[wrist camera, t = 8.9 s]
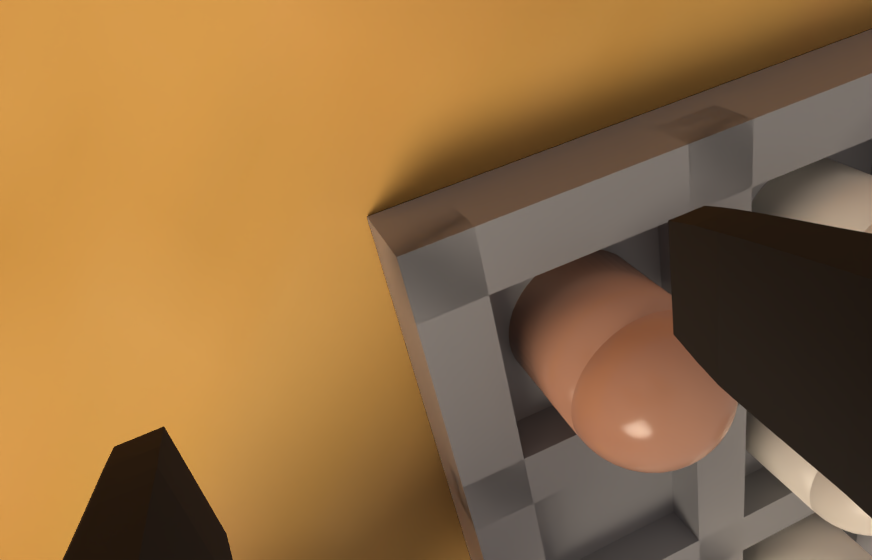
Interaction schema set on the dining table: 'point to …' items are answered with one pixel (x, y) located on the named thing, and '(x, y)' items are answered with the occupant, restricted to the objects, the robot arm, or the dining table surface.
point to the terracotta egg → (618, 365)
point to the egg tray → (649, 253)
